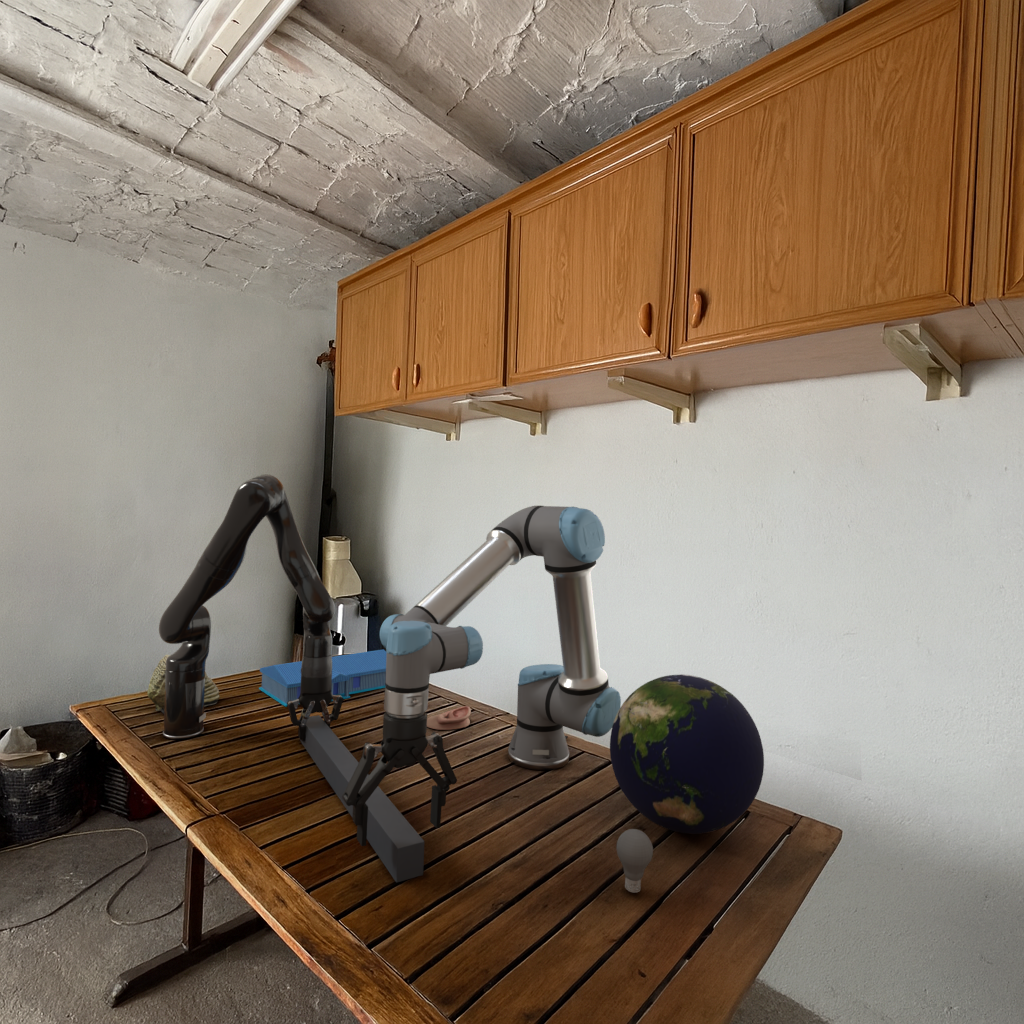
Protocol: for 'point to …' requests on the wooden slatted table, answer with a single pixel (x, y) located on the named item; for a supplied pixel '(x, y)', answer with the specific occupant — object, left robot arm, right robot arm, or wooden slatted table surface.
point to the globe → (686, 754)
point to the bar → (384, 820)
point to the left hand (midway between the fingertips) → (314, 738)
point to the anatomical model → (450, 719)
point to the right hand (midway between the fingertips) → (399, 833)
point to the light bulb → (634, 857)
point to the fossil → (158, 687)
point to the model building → (346, 676)
